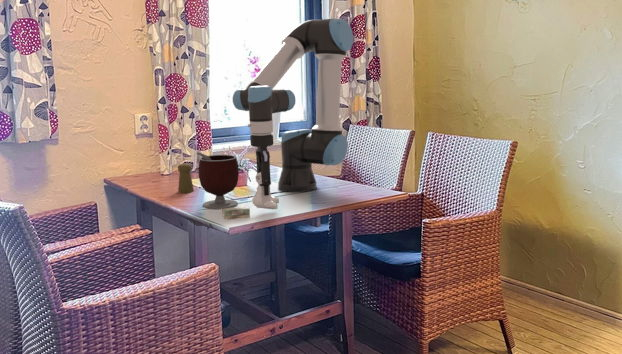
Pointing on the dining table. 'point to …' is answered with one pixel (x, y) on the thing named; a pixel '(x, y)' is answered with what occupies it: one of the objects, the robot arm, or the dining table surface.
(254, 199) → the seated beast figurine
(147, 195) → the dining table surface
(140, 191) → the dining table surface
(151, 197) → the dining table surface
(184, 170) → the cork
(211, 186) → the mate gourd
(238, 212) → the green brown flat box
